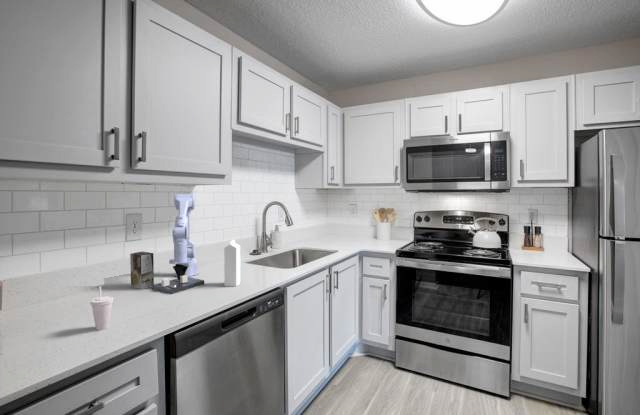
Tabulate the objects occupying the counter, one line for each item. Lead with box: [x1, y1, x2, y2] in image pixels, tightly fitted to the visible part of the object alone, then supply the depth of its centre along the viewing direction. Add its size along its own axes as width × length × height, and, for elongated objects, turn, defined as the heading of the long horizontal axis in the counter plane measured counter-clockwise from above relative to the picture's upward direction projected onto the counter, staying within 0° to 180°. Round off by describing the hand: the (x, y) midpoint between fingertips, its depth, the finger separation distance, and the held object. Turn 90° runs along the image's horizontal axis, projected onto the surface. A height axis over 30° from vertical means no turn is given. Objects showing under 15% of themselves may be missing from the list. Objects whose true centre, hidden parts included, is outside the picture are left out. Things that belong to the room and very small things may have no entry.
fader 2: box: [180, 275, 188, 283], centre depth 154 cm, size 3×2×3 cm, turn 150°
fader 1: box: [161, 277, 171, 287], centre depth 148 cm, size 3×2×3 cm, turn 150°
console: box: [151, 276, 205, 295], centre depth 154 cm, size 18×14×3 cm
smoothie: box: [90, 285, 114, 331], centre depth 107 cm, size 6×6×14 cm
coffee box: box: [129, 251, 155, 290], centre depth 154 cm, size 9×6×16 cm
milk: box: [223, 239, 241, 287], centre depth 158 cm, size 6×6×22 cm
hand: (180, 280), depth 155 cm, fingers closed
